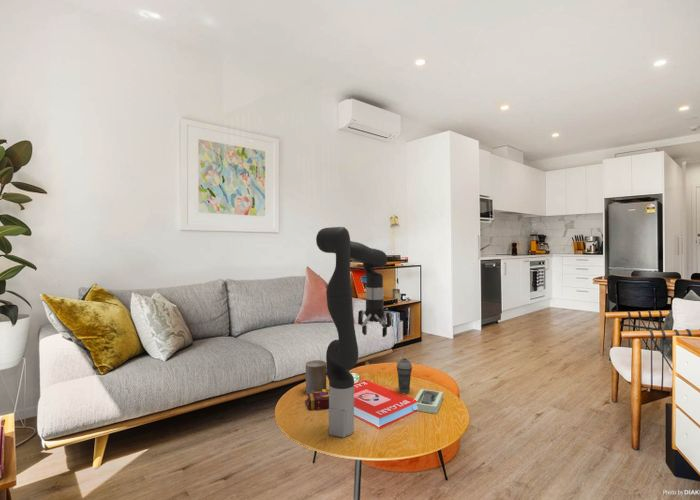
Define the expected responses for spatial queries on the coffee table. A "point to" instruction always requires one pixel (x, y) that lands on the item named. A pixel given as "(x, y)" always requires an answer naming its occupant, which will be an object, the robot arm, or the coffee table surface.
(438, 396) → the mint green tray
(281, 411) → the coffee table surface
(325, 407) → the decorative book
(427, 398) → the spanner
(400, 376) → the beverage cup
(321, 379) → the pillar candle
